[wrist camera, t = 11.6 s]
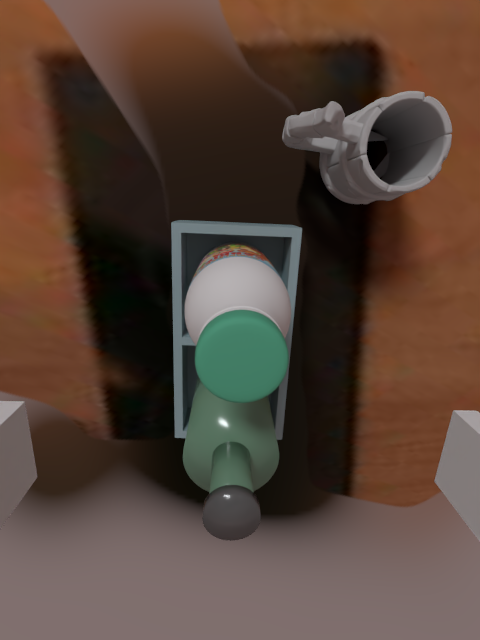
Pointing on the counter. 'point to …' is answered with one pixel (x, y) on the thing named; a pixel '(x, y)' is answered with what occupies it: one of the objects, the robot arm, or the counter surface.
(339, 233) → the counter surface
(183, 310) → the crate
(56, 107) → the counter surface
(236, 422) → the green bottle
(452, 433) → the robot arm
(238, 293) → the milk bottle
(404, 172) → the mug
